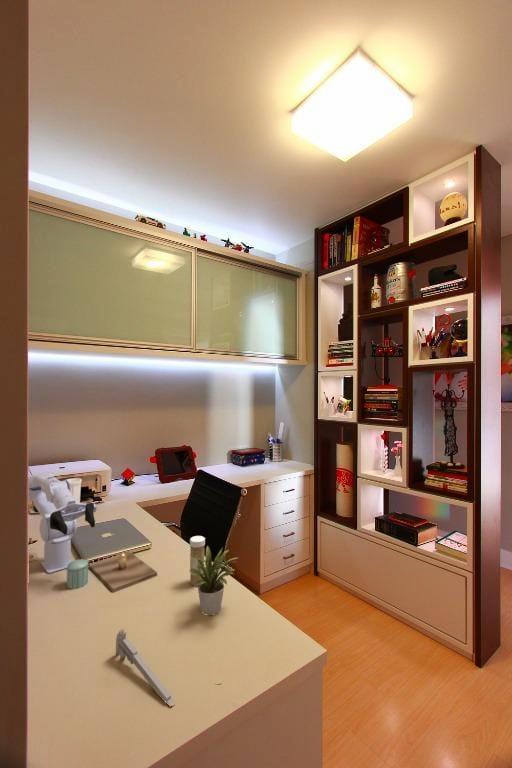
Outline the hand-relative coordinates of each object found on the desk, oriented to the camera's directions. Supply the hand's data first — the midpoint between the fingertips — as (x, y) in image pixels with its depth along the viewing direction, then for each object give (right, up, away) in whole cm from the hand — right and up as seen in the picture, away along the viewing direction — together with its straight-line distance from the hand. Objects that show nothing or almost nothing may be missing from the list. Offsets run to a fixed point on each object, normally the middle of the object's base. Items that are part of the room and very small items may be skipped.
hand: (80, 527), depth 107 cm
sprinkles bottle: (+34, -19, +4) cm, 39 cm away
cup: (-37, -19, +69) cm, 81 cm away
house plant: (+40, -19, -11) cm, 45 cm away
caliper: (+28, -19, -32) cm, 47 cm away
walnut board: (+8, -18, +11) cm, 23 cm away
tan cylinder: (+8, -18, +11) cm, 23 cm away
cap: (-2, -18, +3) cm, 19 cm away
